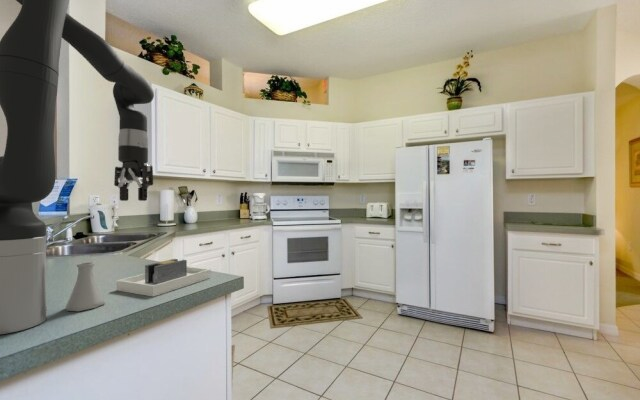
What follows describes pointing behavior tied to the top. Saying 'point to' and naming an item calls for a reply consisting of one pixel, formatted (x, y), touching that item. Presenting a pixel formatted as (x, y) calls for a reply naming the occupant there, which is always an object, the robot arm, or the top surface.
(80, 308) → the flask
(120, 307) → the top surface
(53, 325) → the top surface
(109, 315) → the top surface
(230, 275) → the top surface
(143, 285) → the tray
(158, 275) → the block
